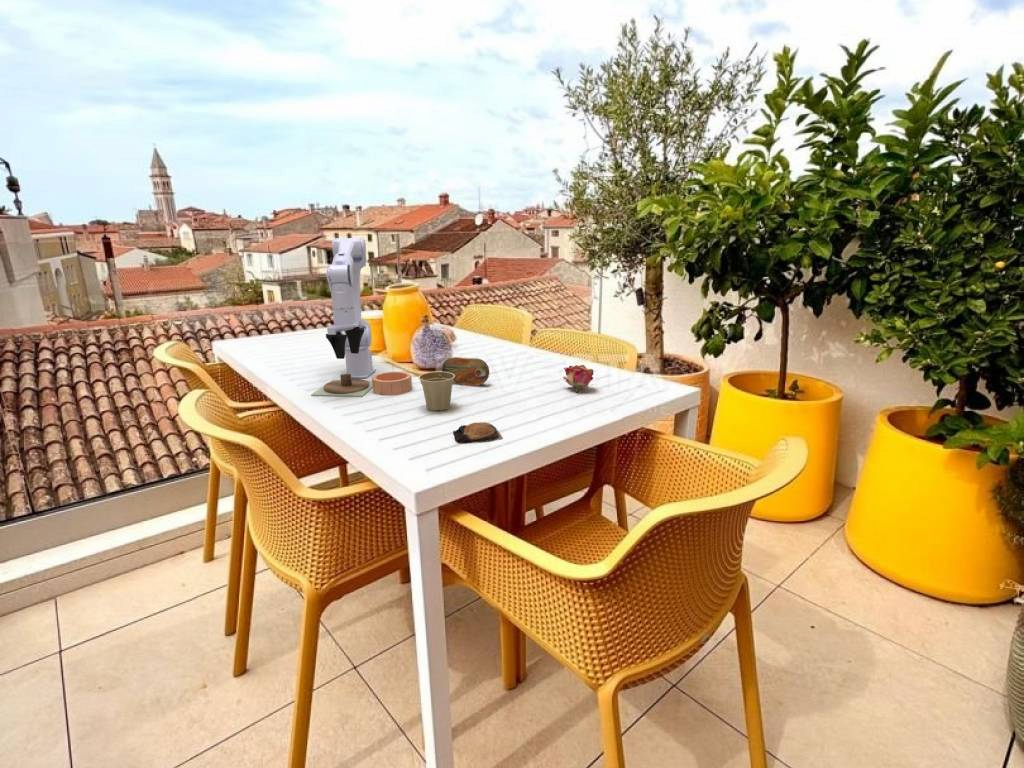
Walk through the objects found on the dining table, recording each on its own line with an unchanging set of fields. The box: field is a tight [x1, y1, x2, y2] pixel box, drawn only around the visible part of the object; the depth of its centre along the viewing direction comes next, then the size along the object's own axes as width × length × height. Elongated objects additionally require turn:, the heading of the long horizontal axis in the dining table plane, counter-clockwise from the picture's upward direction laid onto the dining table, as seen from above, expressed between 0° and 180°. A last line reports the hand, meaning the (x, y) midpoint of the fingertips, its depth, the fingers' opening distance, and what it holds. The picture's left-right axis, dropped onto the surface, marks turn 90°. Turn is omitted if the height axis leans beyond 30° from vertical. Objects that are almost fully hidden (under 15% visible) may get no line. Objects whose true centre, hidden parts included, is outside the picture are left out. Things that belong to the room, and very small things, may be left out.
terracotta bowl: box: [371, 371, 413, 396], centre depth 147 cm, size 11×11×4 cm
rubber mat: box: [310, 379, 373, 398], centre depth 148 cm, size 15×15×1 cm
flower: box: [562, 364, 594, 394], centre depth 145 cm, size 10×9×8 cm
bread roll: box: [452, 421, 504, 445], centre depth 113 cm, size 11×8×4 cm
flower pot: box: [418, 370, 455, 412], centre depth 131 cm, size 9×9×9 cm
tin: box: [441, 356, 490, 387], centre depth 151 cm, size 15×3×8 cm, turn 71°
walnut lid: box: [323, 373, 369, 394], centre depth 148 cm, size 13×13×4 cm
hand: (347, 355), depth 142 cm, fingers open, 7 cm apart
